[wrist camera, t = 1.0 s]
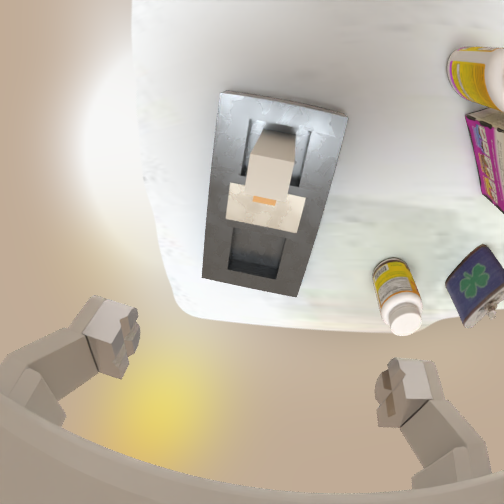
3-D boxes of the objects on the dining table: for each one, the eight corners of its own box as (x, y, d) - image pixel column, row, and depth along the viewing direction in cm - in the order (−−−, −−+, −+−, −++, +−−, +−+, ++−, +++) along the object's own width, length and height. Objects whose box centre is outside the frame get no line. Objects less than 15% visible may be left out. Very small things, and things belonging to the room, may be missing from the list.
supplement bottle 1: (405, 287, 42) (422, 339, 34) (369, 288, 43) (380, 342, 35) (411, 255, 39) (433, 306, 31) (373, 256, 40) (388, 309, 32)
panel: (226, 90, 31) (220, 93, 29) (344, 113, 31) (348, 118, 28) (207, 264, 45) (201, 278, 42) (297, 283, 44) (296, 297, 42)
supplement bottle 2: (471, 111, 27) (535, 141, 17) (435, 72, 26) (496, 83, 15) (498, 76, 24) (566, 94, 13) (463, 35, 22) (529, 35, 12)
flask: (449, 289, 41) (472, 341, 33) (440, 281, 41) (463, 333, 32) (490, 249, 37) (522, 296, 28) (482, 239, 36) (515, 286, 27)
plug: (263, 129, 33) (250, 153, 25) (295, 135, 33) (294, 162, 24) (257, 165, 35) (242, 202, 27) (288, 171, 35) (283, 210, 27)
